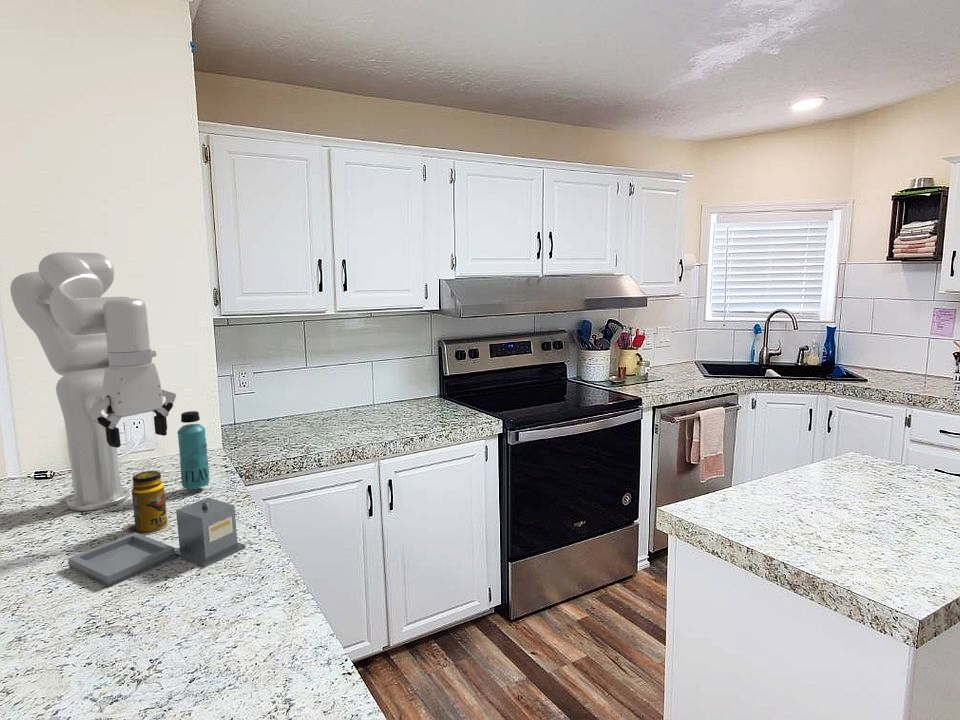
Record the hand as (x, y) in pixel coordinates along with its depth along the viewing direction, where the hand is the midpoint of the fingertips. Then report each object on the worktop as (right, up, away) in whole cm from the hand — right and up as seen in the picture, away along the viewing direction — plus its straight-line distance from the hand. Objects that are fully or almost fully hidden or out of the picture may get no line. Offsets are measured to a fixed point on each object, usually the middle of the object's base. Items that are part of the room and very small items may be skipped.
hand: (138, 440), depth 124 cm
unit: (+18, -21, -7) cm, 29 cm away
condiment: (0, -20, +3) cm, 20 cm away
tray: (+4, -22, -12) cm, 25 cm away
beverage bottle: (0, -16, +25) cm, 30 cm away
